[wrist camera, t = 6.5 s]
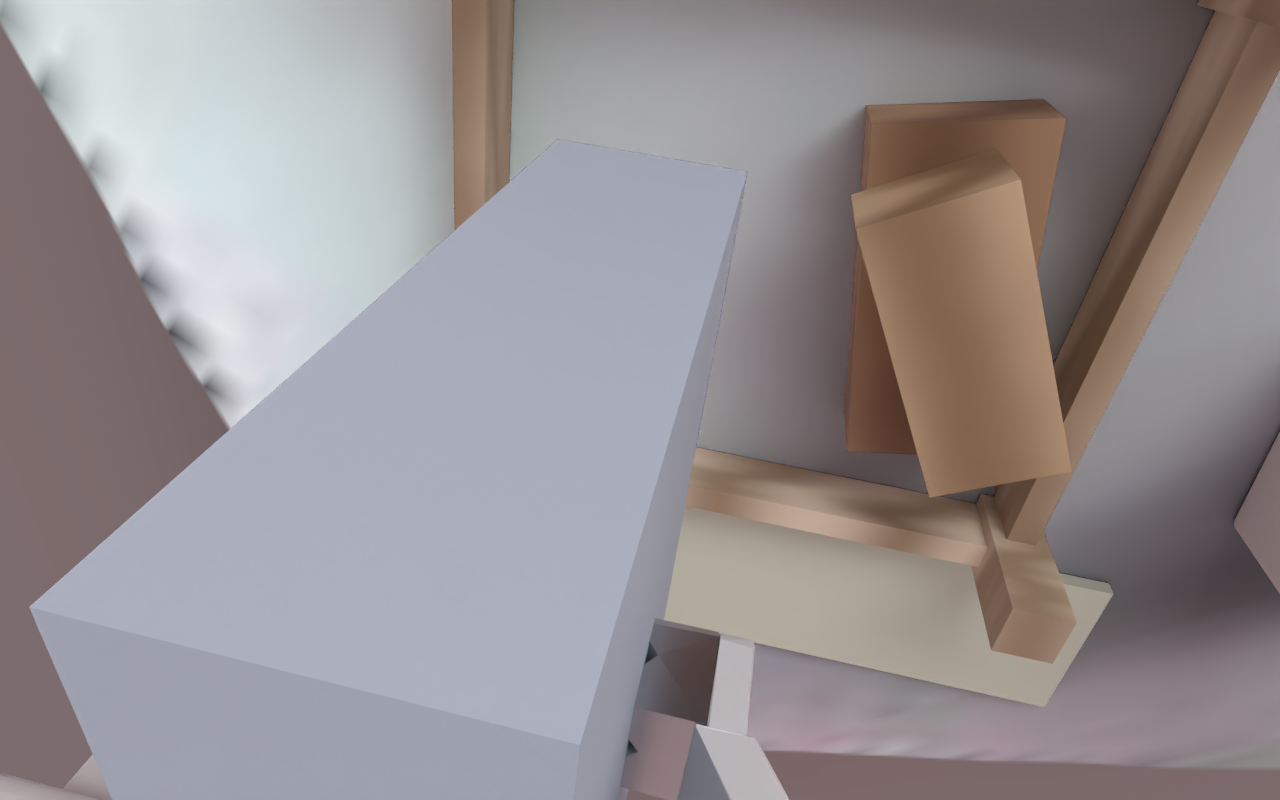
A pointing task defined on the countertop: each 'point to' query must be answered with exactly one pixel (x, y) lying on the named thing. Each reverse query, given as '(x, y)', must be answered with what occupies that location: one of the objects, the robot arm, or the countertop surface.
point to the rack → (1084, 370)
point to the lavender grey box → (428, 520)
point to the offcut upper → (965, 323)
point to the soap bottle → (1264, 516)
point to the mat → (858, 605)
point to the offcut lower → (908, 147)
